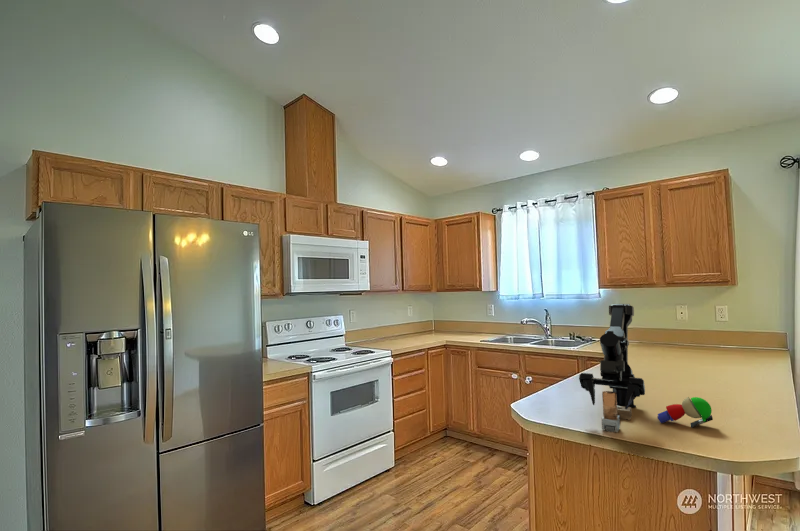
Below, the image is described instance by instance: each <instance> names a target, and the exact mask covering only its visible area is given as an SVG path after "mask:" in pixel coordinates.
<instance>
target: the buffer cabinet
mask: <svg viewBox="0 0 800 531" xmlns="http://www.w3.org/2000/svg"><path fill="white" fill-rule="evenodd" d="M617 414H619V415H620V417H621V419H620V420H626V419H628V420H627V421H631V419H632V417H633V415H632V407H628V408H627V409H625V407H624V406H617ZM631 416H632V417H631Z"/></svg>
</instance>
